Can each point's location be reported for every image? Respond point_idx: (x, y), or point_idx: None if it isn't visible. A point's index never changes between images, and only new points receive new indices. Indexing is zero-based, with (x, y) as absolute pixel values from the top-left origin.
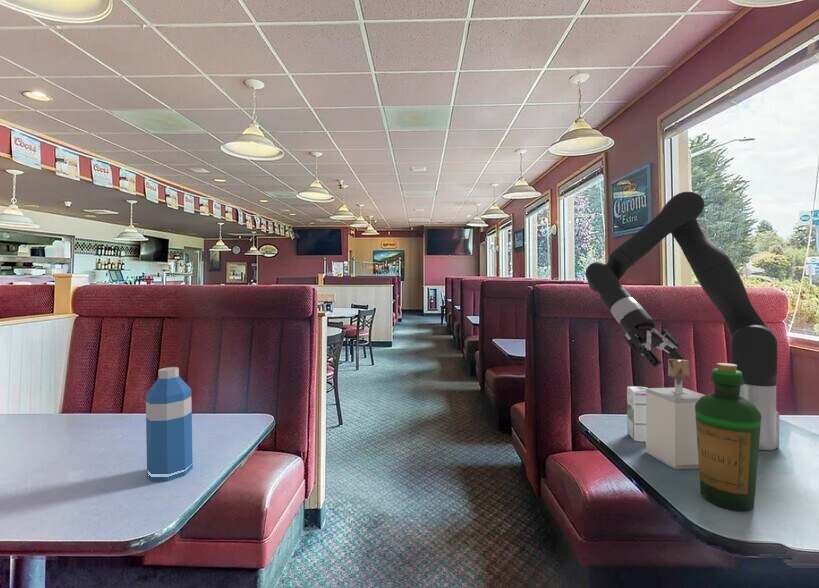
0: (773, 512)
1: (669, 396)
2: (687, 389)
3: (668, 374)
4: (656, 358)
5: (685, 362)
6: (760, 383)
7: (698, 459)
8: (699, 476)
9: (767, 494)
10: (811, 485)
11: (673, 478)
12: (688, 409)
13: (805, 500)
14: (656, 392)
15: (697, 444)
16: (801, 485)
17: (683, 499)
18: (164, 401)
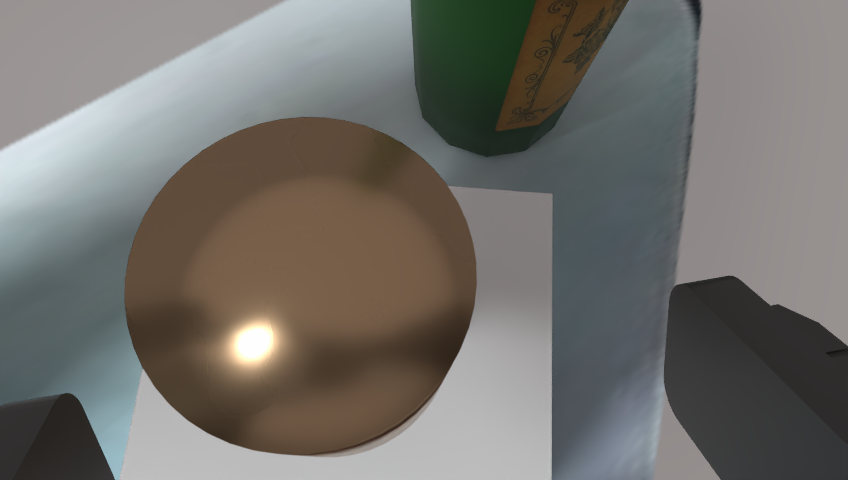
0: (403, 21)
1: (539, 271)
2: (125, 474)
3: (440, 386)
4: (777, 321)
5: (322, 124)
6: None
7: (594, 56)
8: (571, 96)
9: (302, 101)
10: (61, 121)
11: None
12: None
13: (217, 52)
14: (549, 433)
15: (620, 13)
16: (99, 127)
17: (629, 124)
18: None
